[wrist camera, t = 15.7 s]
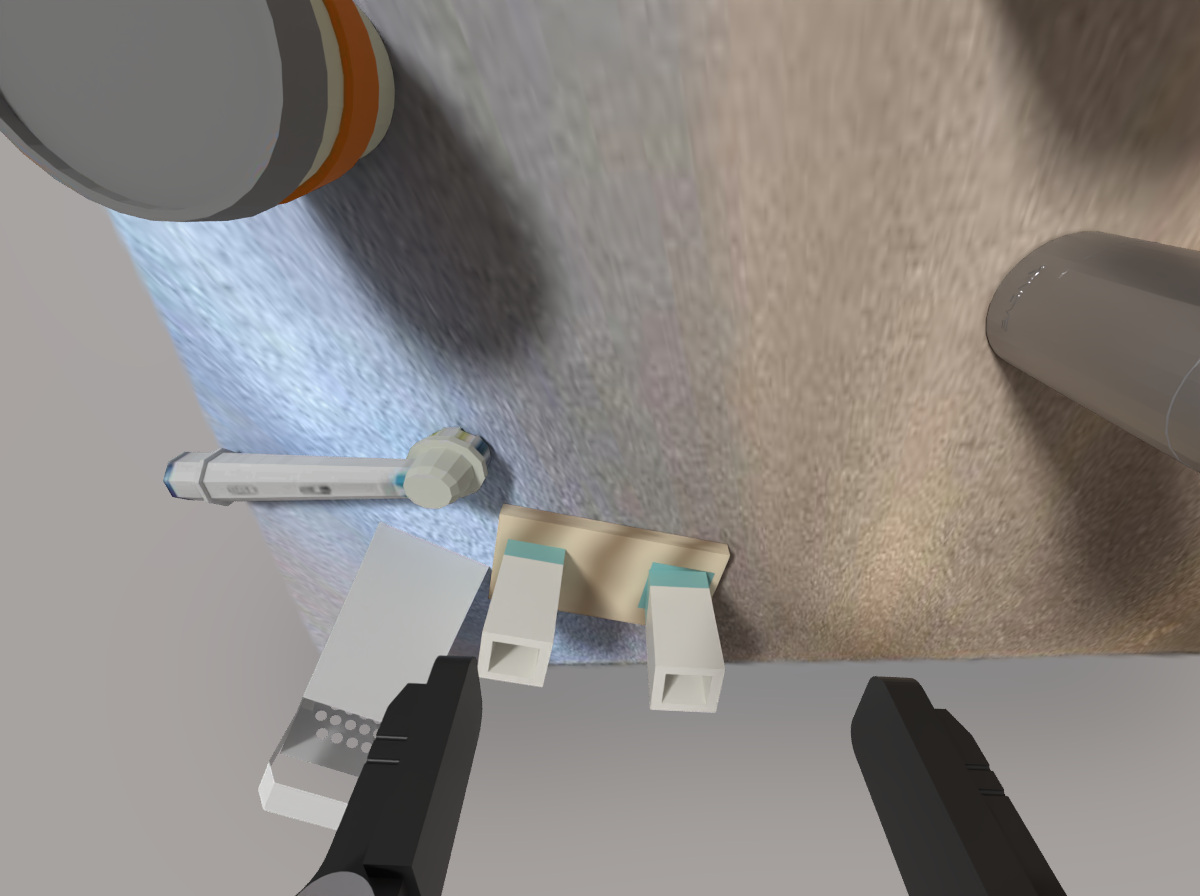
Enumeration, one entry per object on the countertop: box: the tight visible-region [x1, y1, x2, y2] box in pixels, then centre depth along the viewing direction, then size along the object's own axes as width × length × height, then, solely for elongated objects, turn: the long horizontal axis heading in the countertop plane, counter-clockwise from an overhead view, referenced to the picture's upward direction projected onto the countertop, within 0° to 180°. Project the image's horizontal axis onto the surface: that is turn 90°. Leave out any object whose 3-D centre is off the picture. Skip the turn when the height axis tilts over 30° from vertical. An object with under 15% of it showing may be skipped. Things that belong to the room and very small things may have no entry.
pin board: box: [488, 503, 730, 625], centre depth 46 cm, size 20×10×6 cm, turn 78°
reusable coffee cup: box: [0, 0, 395, 222], centre depth 25 cm, size 13×13×15 cm
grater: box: [258, 522, 489, 830], centre depth 42 cm, size 10×10×20 cm
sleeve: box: [645, 569, 725, 713], centre depth 44 cm, size 5×5×10 cm
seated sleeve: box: [478, 539, 565, 687], centre depth 43 cm, size 5×5×10 cm
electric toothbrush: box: [163, 427, 491, 509], centre depth 42 cm, size 5×7×25 cm
